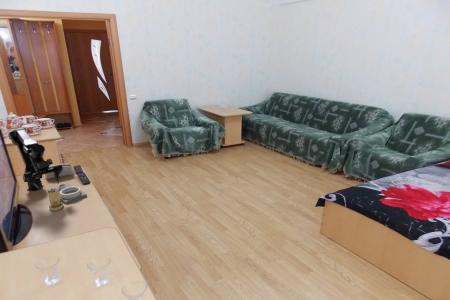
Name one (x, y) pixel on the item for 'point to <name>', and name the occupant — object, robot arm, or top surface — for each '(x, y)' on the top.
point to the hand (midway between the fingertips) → (49, 186)
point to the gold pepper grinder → (55, 200)
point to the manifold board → (69, 193)
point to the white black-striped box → (66, 171)
